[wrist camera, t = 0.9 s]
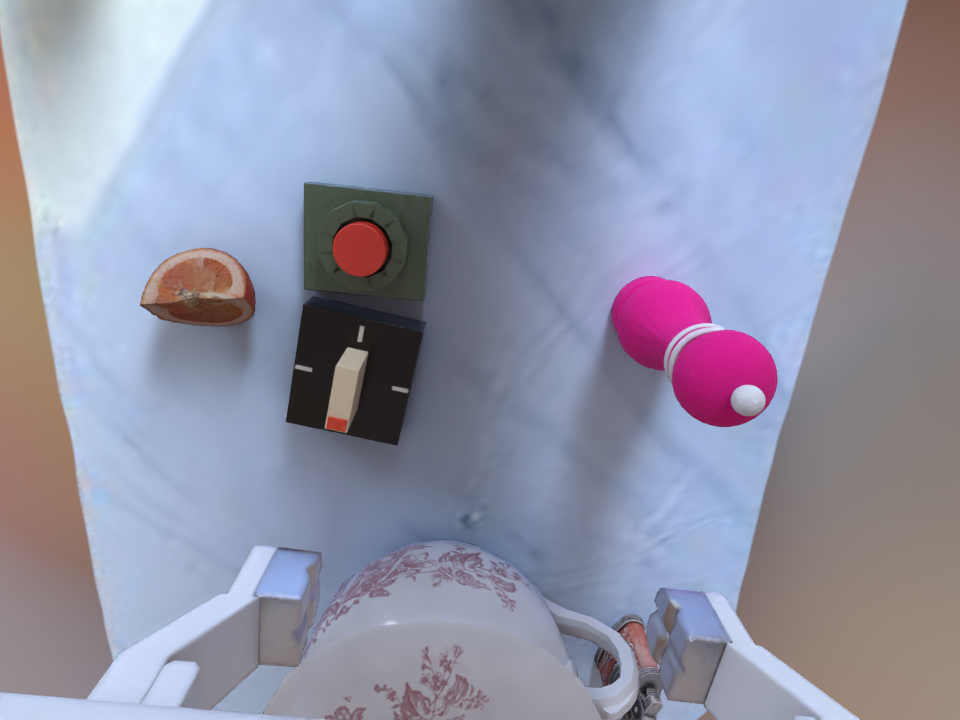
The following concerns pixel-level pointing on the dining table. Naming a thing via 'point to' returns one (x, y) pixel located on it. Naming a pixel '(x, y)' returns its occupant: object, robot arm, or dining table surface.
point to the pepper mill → (694, 351)
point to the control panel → (385, 372)
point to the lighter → (648, 699)
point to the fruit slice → (200, 289)
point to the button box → (392, 214)
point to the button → (360, 248)
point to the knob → (346, 389)
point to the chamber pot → (450, 646)
